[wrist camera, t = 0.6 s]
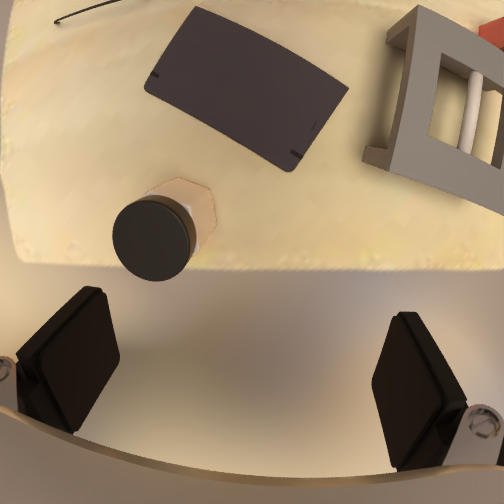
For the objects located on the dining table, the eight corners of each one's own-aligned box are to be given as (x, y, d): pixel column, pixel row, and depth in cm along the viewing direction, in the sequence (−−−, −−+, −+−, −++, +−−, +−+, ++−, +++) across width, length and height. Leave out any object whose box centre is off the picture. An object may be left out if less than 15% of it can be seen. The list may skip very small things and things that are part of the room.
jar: (145, 227, 41) (102, 262, 30) (162, 170, 38) (117, 186, 27) (207, 252, 41) (181, 296, 30) (228, 194, 38) (206, 220, 27)
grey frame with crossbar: (388, 30, 29) (418, 4, 19) (487, 78, 28) (531, 72, 19) (361, 161, 35) (388, 171, 26) (464, 197, 35) (506, 217, 26)
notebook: (346, 90, 33) (198, 9, 30) (349, 88, 31) (195, 5, 29) (290, 173, 37) (146, 90, 35) (290, 175, 36) (141, 89, 33)
